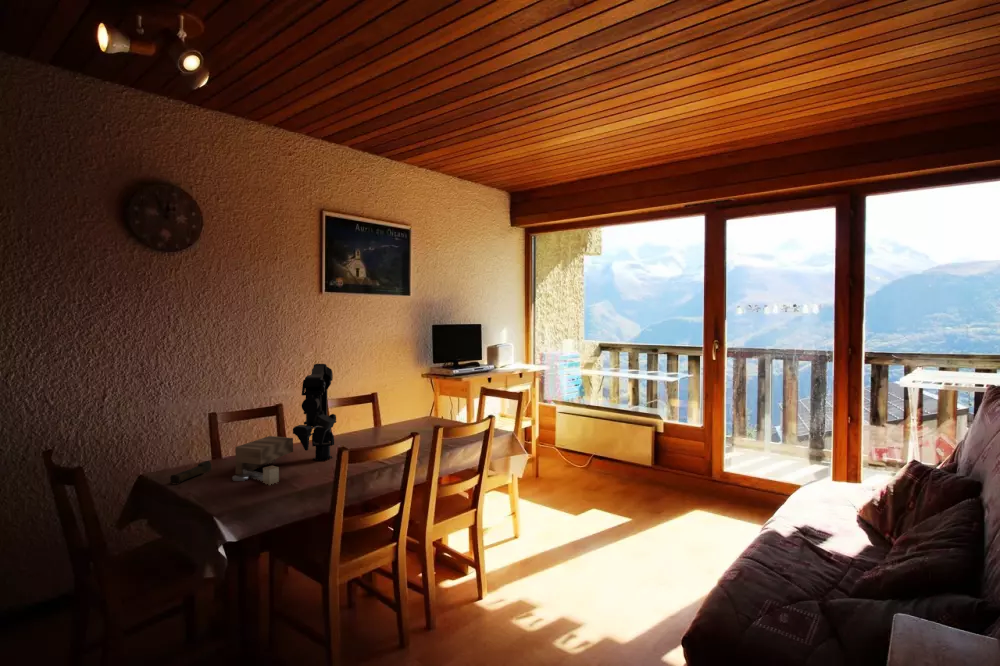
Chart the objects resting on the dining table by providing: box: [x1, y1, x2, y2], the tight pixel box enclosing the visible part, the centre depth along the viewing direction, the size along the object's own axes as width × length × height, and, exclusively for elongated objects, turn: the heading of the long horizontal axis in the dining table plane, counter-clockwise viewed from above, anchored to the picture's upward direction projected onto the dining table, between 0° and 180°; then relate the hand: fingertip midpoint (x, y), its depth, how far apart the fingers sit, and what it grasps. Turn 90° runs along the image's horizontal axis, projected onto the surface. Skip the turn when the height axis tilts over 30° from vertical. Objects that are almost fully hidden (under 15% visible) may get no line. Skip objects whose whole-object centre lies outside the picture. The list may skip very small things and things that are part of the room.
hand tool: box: [170, 460, 213, 484], centre depth 212 cm, size 19×4×5 cm, turn 165°
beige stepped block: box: [234, 435, 294, 475], centre depth 224 cm, size 20×12×11 cm, turn 164°
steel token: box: [231, 474, 250, 482], centre depth 210 cm, size 6×6×2 cm
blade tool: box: [243, 465, 280, 486], centre depth 210 cm, size 4×19×6 cm, turn 58°
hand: (313, 447), depth 213 cm, fingers open, 9 cm apart
